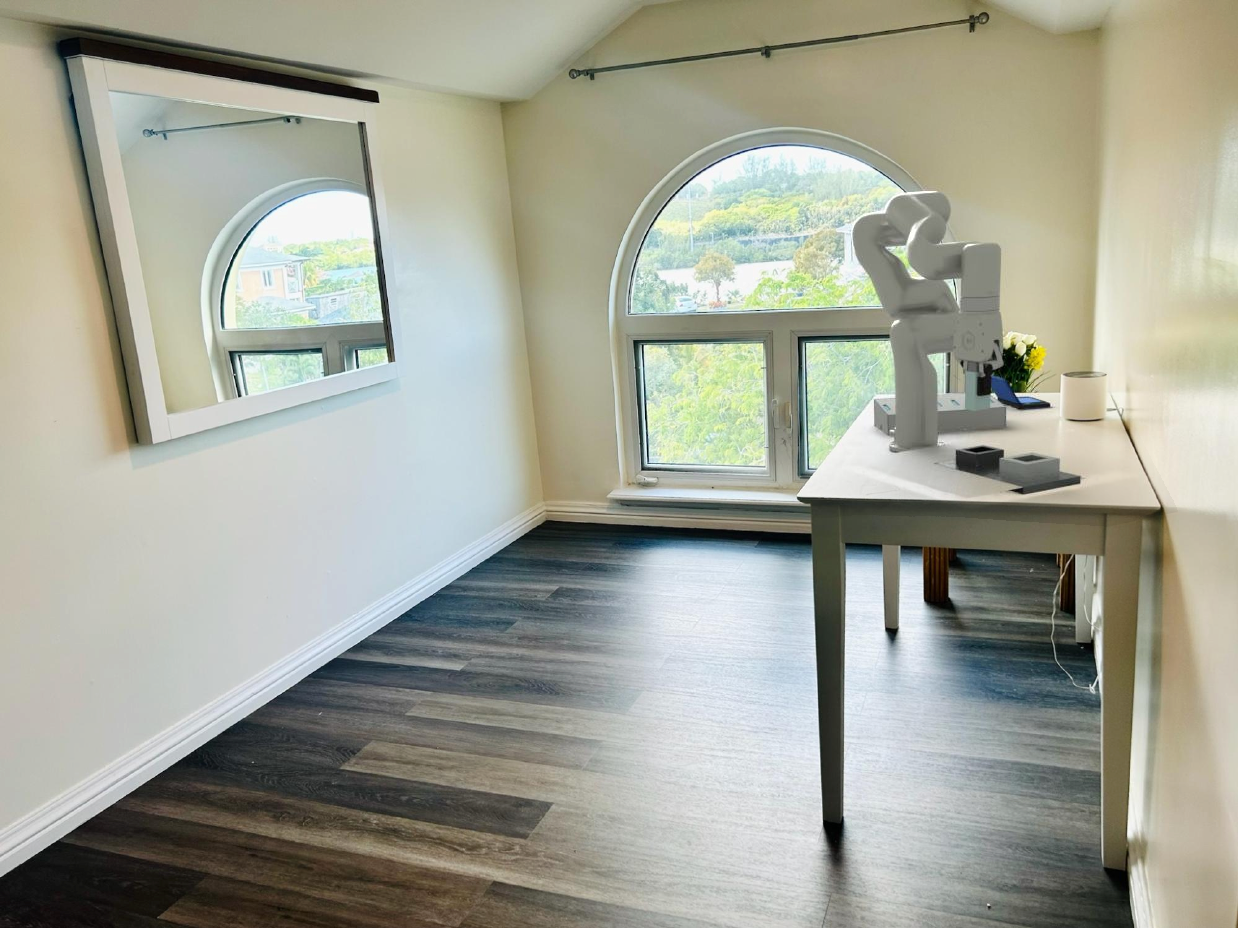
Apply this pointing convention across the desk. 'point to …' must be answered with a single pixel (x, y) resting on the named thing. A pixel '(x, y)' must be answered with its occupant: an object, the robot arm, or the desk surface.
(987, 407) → the plug
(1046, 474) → the panel
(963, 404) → the grey slotted box
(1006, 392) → the handheld game console
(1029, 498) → the desk surface
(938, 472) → the desk surface
